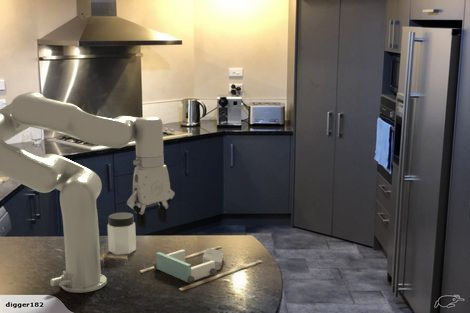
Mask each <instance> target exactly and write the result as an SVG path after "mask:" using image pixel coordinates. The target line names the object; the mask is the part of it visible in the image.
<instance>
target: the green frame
mask: <svg viewBox="0 0 470 313" xmlns="http://www.w3.org/2000/svg"><path fill="white" fill-rule="evenodd" d="M185 256H186V250H185V249H180V250H176V251H173V252H170V253H167V254H166V253H163V252H161V251H159V252H156V253H155V258H156V261H155V262H154V264H153V266H154V268H156V269H157V270H158V271H161V272H163V273H166V274H167V275H170V276H173V277H175V278H176V279H179V280H182V281H184V282H187V283H188V284H193V283H195V281H197V280H199V279H201V278H204V277H208V276H210V275H211V276H212V277H213V276H216V275H217V273H218V270H216V269H215V261H209V262H206V263H203V262H202V263H200V264H197V265H194V266H192V264H190V263H188V262H186V260H187V259H185Z"/></svg>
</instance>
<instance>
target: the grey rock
mask: <svg viewBox="0 0 470 313" xmlns="http://www.w3.org/2000/svg"><path fill="white" fill-rule="evenodd" d="M211 248H212V247H211ZM211 248H210V247H207V248H206V249H205V250H206V251H205V253H204V254H202V264H203V263H206V262H209V261H215V269H216V270H217V271H219V270H221V269H222V268H221V267H222V265H223V262H224V256H225V252H224V251H222V250H219V249H216V250H214V249H211Z"/></svg>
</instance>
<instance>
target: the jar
mask: <svg viewBox="0 0 470 313" xmlns="http://www.w3.org/2000/svg"><path fill="white" fill-rule="evenodd" d="M134 221H135V216H134V214H133V213H131V212H115V213H112V214H109V215H108V224H107V244H108V245H107V246H108V252H110V253H111V254H113V255H115V256H117V255H119V256H120V255H130V254H131V253H133V252H135V251H136V250H137V237H136V222H134Z"/></svg>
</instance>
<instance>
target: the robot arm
mask: <svg viewBox="0 0 470 313" xmlns="http://www.w3.org/2000/svg"><path fill="white" fill-rule="evenodd" d="M163 126H164V125H163V121H162V119H161V118H160V117H157V116H144V117H143V116H141V117H136V116H128V115H127V116H126V115H119V116H118V115H117V117H114V118H108V117H104V116H98V115H94V114H91V113H89V112H87V111H84V110H83V109H81V108H80V107H78V106H77V105H75V104H73V103H70V102H65V101H60V100H55V99H52V98H46V96H44V95H43V94H42V93H39V92H35V91H29V92H25V93H21V94H19V95H17V96H16V97H15V98H13V99H12V101H11V102H10V103H9V104H7V105H6V106H4V107H2V108H0V174H1V175H2V176H5V177H7V178H9V179H11V180H13V181H15V182H17V183H19V184H21V185H23V186H25V187H28V188H29V189H32V190H34V191H35V192H38V193H43V194H46V193H50V192H51V191H53V190H58V191H60V192H59V204H60V210H61V216H62V225H63V227H62V228H63V236H64V237H63V239H64V256H65V270H63V271H62V274H61V275H60V276H58V277H54V278H51V279H50V281H49V282H50V286H52V287H53V286H57V285H59V286H60V287H61V289H63V290H64V291H66V292H69V293H78V294H79V293H81V294H82V293H89V292H94V291H97V290H99V289H100V290H101V289H102V288H103V287H105V286H106V285H107V283H108V279H107V276H105V275H104V274H102V270H101V267H102V266H101V250H100V249H101V248H100V229H99V228H100V227H99V217H98V209H97V199H98V197H99V196H100V194H101V192H102V185H103V184H102V181H101V178H100V176H99V175H98V174H97V173H96V172H95V171H94V170H92V169H90V168H87V167H86V166H83V165H81V164H80V163H77V162H74V161H72V160H70V159H69V158H66V157H64V156H62V155H58V154H55V153H46V154H42V155H41V156H38V155H35V154H33V153H31V152H28V151H26V150H25V149H22V148H20V147H18V146H14V145H11V144H9V143H8V142H7V141H8V140H11V139H12V138H14V137H15V136H17V135H18V134H20V133H22V132H24V131H25V130H27V129H29V128H34V129H39V130H43V131H48V132H53V133H57V134H62V135H64V136H65V135H66V136H68V137H71V138H74V139H77V140H79V141H82V142H84V143H85V142H86V143H89V144H93V145H97V146H103V147H105V148H106V147H107V148H112V149H121V148H124V147H126V146H128V145H129V144H130V143H131V142H135V159H134V160H132V161H133V162H132V163H133V166H135V167H134V171H133V180H132V194H131V195H130V197H129V198H128V200H127V201H126V205H127V206H129V208H131V209H132V211H134V213H136V223H137V227H139V228H142V229H146V228H147V215H146V213H145V210H146V207H147V206H149V205H153V204H154V205H155V204H158V207H157V220H158V222H161V223H164V224H165V223H167V217H168V214H167V211H168V210H167V209H168V208H169V205H170V203H171V202H172V199H173V198H174V196H175V191H174V190H172V189H171V182H170V176H169V170H168V167H167V165H166V164H165V163H164V162H165V160H164V127H163Z"/></svg>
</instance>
